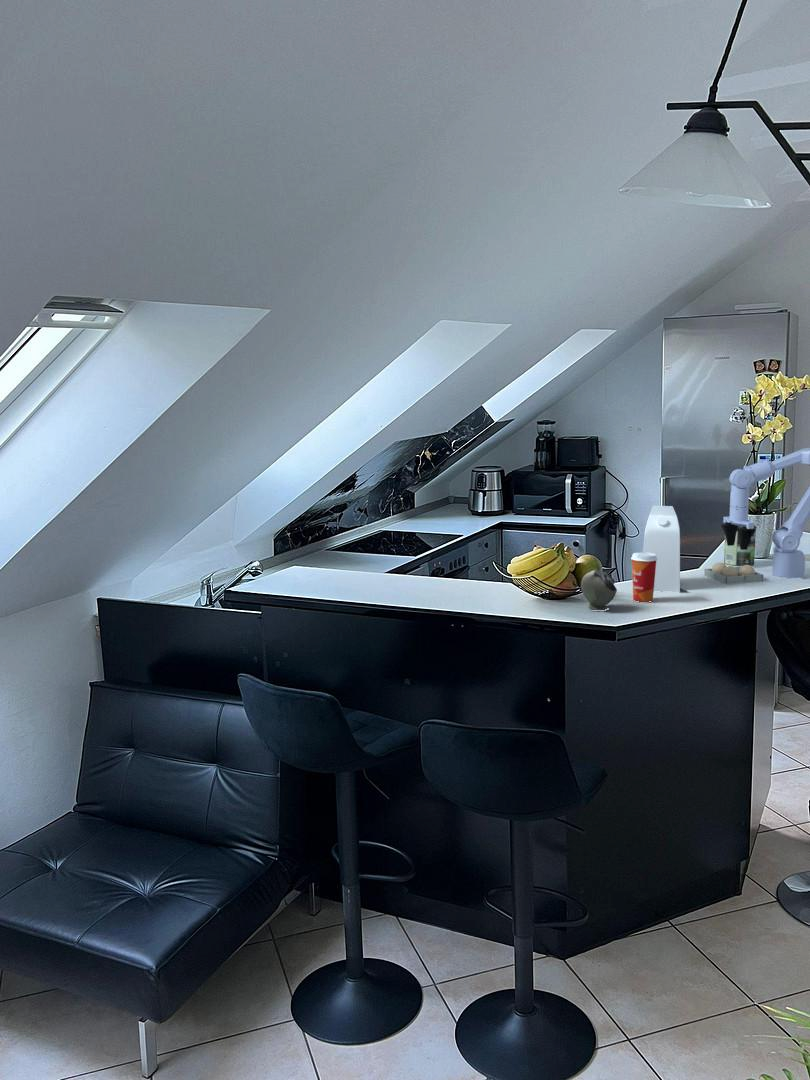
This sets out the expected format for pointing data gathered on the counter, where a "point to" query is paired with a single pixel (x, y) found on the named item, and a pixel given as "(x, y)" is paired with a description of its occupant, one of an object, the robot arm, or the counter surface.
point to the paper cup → (643, 576)
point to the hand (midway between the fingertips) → (737, 547)
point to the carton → (734, 577)
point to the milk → (664, 547)
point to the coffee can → (740, 552)
